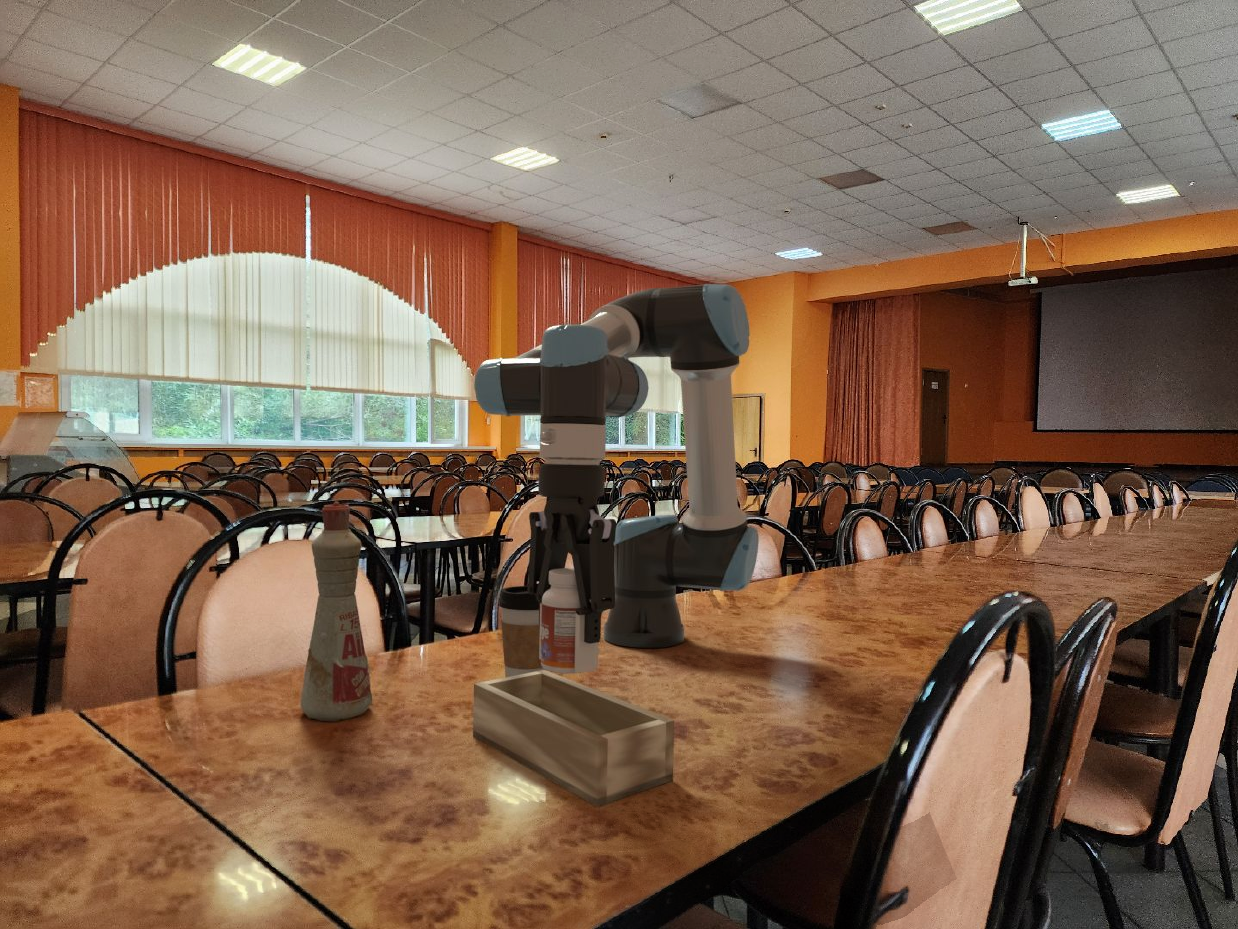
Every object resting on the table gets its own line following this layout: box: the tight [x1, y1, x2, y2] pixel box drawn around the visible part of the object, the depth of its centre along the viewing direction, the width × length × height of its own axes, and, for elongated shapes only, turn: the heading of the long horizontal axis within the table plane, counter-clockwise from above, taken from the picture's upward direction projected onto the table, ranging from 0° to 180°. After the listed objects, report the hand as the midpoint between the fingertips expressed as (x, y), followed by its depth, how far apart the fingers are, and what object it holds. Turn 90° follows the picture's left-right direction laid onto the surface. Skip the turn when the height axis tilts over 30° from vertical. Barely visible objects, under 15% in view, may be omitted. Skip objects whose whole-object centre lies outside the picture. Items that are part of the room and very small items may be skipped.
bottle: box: [300, 500, 373, 723], centre depth 106 cm, size 9×9×28 cm
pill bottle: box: [541, 567, 591, 675], centre depth 91 cm, size 6×6×11 cm
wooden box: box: [472, 670, 675, 808], centre depth 92 cm, size 10×24×6 cm, turn 40°
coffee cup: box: [498, 585, 549, 678], centre depth 118 cm, size 8×8×15 cm
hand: (567, 663), depth 91 cm, fingers closed on pill bottle, 6 cm apart
